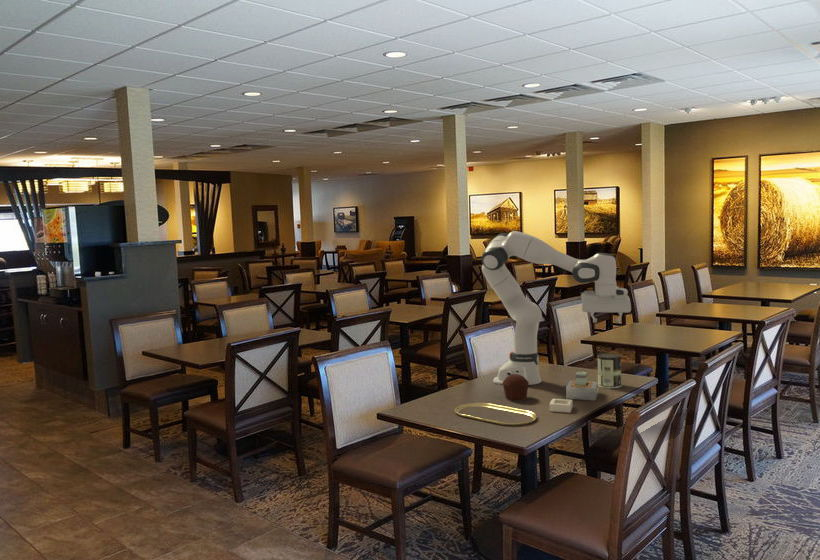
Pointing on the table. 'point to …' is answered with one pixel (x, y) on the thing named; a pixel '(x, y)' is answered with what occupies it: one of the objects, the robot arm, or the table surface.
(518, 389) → the muffin
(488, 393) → the table surface
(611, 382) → the coffee can
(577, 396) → the port
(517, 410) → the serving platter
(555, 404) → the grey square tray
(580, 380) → the plug
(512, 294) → the robot arm
